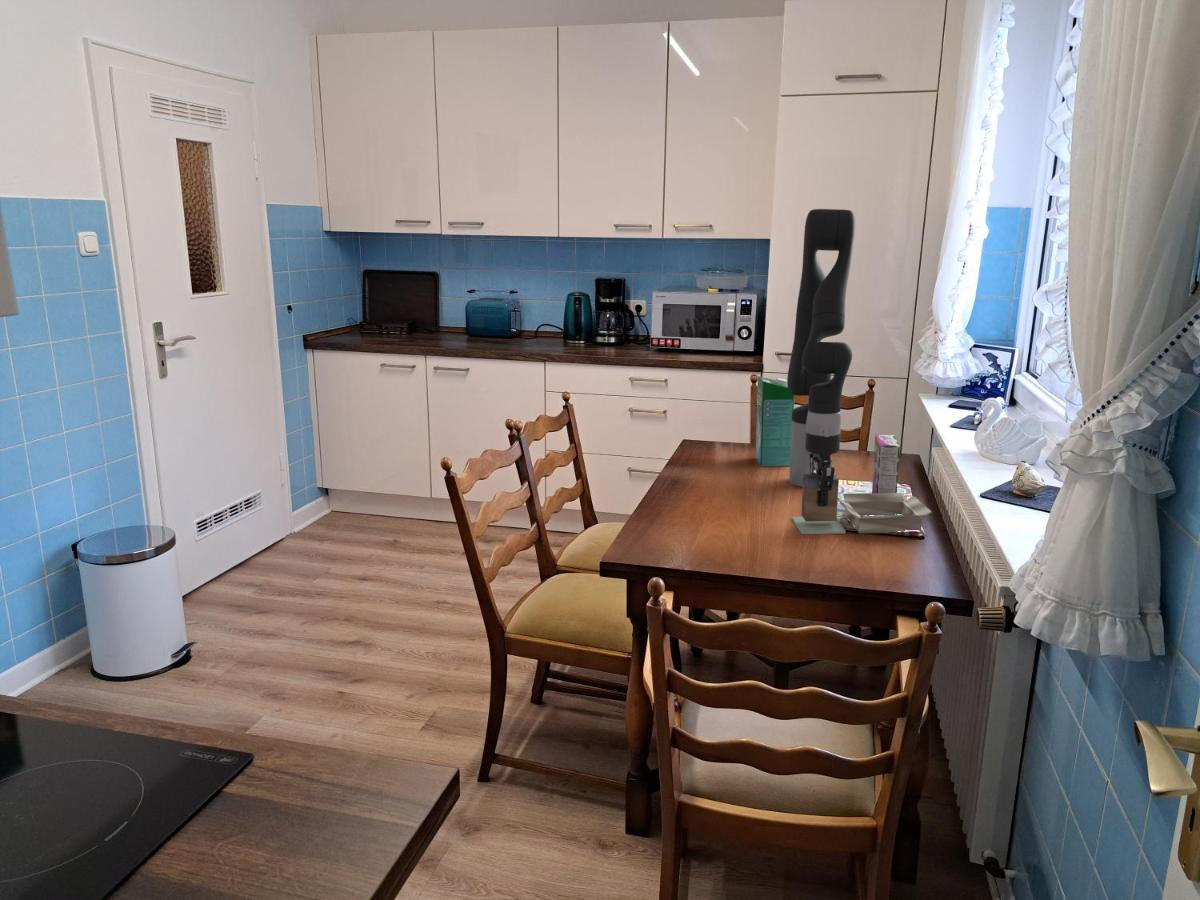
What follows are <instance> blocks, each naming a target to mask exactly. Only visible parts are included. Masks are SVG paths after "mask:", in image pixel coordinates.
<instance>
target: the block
mask: <svg viewBox="0 0 1200 900" xmlns="http://www.w3.org/2000/svg"><path fill="white" fill-rule="evenodd" d="M819 477H821V475H819ZM839 480H840V478H838V477H837V475H835V474H834V478H833V485H832V490H831V491H828V505H827V506H822V507H820V506H818V505H817V497H818V489H817V488H818V481H817V480H816V479H815V475H812V474H803V487H802V490H801V491H802V492H801V493H802V494H801V496H802V497H801V499H802V500H801V517H803V518H804V520H805V521H836V519H837V517H838V502H839V500H838V498H839V483H840V481H839ZM824 485H826V482H825V483H824ZM837 520H838V519H837Z"/></svg>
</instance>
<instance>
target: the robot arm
mask: <svg viewBox="0 0 1200 900" xmlns="http://www.w3.org/2000/svg"><path fill="white" fill-rule="evenodd" d="M803 233H804V234H803V249H802V267H801V269H802V270H801V277H800V284H799V291H798V297H797V305H796V312H795V313H796V314H795V325H794V338H793V344H792V349H791V350H792V351H791V353H790V354H791V356H790V360H789V364H788V371H787V376H786V377H787V378H786V380H787V386H788V390H789V392H790V393H791V394H792V395H794V396H798V397H799V396H801V397H803V396H804V397H806V396H807V397H808V403H806V404H803V405H800V406H797V407H794V410H793V411H792V422H791V448H790V466H789V473H788V474H789V475H788V483H789V484H791V485H793V486H796V487H801V488H803V474H812V475H815V479H816V480H817V481H818V488H817V489H818V497H817V505H818V506H820V507H822V506H827V505H828V491H831V490H832V485H833V478H834V475H835V471H836V469H835V467H834V466H833V460H832V459H831V455H833V454H837V453H838V452H840V448H841V447H840V446H841V445H840V444H841V430H842V429H841V427H842V418H841V416H842V415H841V409H842V408H841V407H842V394H843V393H842V392H843V387H844V383H845V380H846V377H847V374H848V372H849V369H850V366H851V363H852V360H853V352H852V348H851V347H850V345H849V344H848V343H846V342H844V341H843V342H841V341H822V340H824V339H826V338H829V337H834V336H837V335H840V334H841V333H842V332H843V331H844V329H845V321H846V318H845V317H846V298H847V297H846V296H847V288H848V282H849V278H850V277H849V276H850V270H851V265H852V257H853V250H854V243H855V237H856V236H855V235H856V215H855V214H854V212H853V211H852V210H850V209H842V208H841V209H838V208H836V209H835V208H833V209H832V208H814V209H811V210H809V212H808V214H807V216H806V218H805V224H804V232H803ZM818 251H828V252H829V251H830V252H834V251H835V252H836V251H837V252H838V254H837V255H838V256H837V258H836V261H835V263H834V265H833V267H832V268H831V270H830V271H829V273H828V274H827V275H826V274H825V273H824V270H823V269H822V268H823V267H822V265H821V264H820V261H819V258H818V253H817V252H818ZM832 375H833V377H832ZM819 475H821V477H819ZM825 482H826V485H824V483H825Z"/></svg>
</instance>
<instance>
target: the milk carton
mask: <svg viewBox="0 0 1200 900" xmlns="http://www.w3.org/2000/svg"><path fill="white" fill-rule="evenodd" d="M756 393H757V394H756V400H757V401H756V421H755V422H756V424H755V425H756V427H755V460H756V459H757V460H756V461H757V462H758V464H759V466H760V467H790V448H791V422H792V411H793V410H794V409H795V395H792V394H791V393H790V392H789V390H788V386H787V379H784V378H780V377H776V378H775V379H772V378H767V377H764V376H757V392H756Z"/></svg>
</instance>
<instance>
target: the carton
mask: <svg viewBox="0 0 1200 900" xmlns="http://www.w3.org/2000/svg"><path fill="white" fill-rule="evenodd" d="M842 496H843V499H844V500H843V499H841V498H840V497H838V502H839V503H840V504H841V505H842V506H843V508H844V517H845V516H846V517H847V518H848V519H849V520H850V522H851V523H852V524H853V525H854V526H855V528H856V529H857V530H856V529H855V528H854V529H855V530H856V532H857V531H858V532H857V533H858V534H892V533H891V532H897V531H905V530H920V531H921V532H922V523H923V519H925V518H926V517H927V516H928V515H929V514H932V510H930V508H929V507H927V506H926V505H925V504H924V503H922V502H921V501H920V500H919V499H918V498H917V497H916V496H914V495H913V496H911V497H910V498H908V499H906V500H905V499H904V495H903V494H902V492H897V493H872V492H871V493H870V492H869V493H864V492H863V493H842ZM895 514H896V515H897V514H902V515H903V516H859V515H895ZM846 517H845V518H846ZM847 518H846V519H847ZM848 519H847V520H848ZM850 522H849V523H850ZM851 523H850V524H851ZM852 524H851V525H852ZM853 525H852V526H853ZM889 532H890V533H889Z"/></svg>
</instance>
